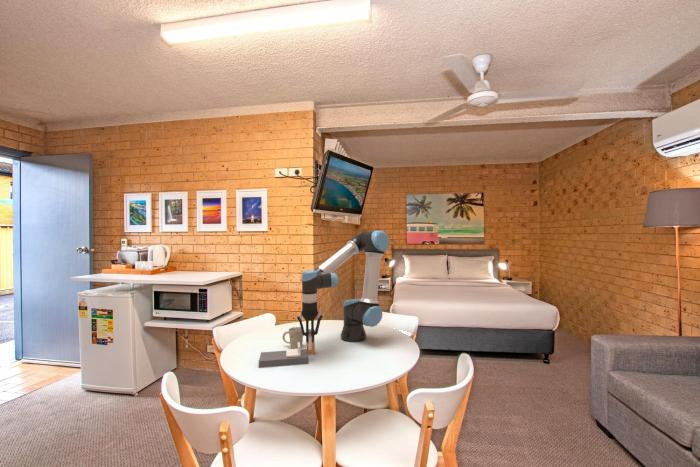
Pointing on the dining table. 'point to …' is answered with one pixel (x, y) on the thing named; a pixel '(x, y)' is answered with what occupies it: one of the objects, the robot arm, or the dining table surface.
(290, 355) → the panel
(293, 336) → the mug
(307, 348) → the plug
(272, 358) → the socket
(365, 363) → the dining table surface
